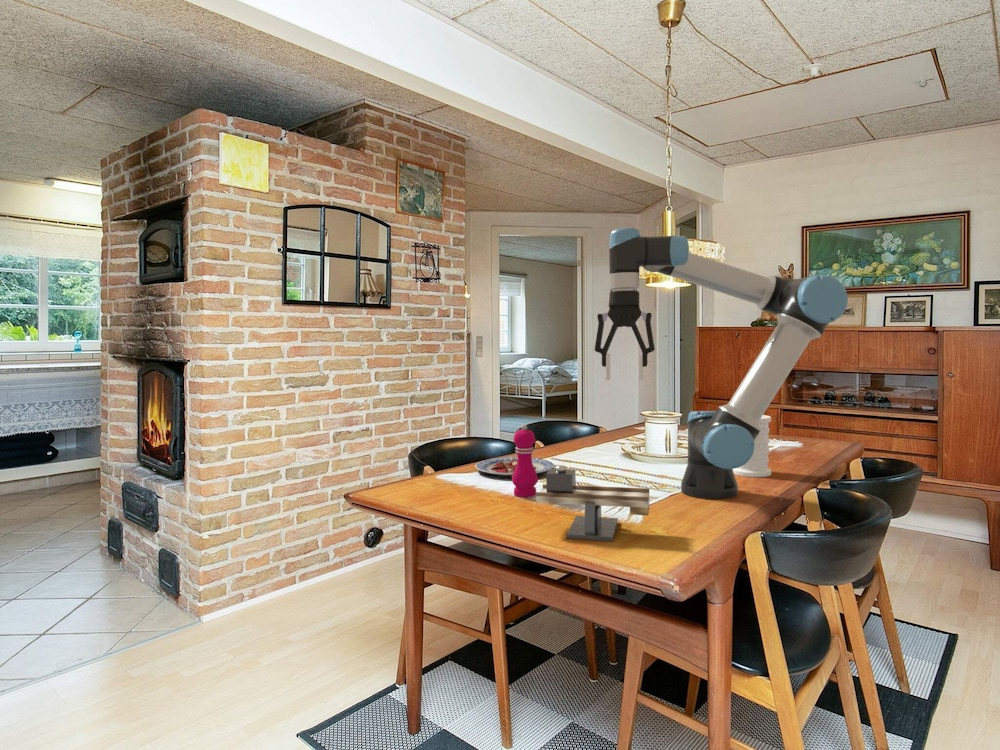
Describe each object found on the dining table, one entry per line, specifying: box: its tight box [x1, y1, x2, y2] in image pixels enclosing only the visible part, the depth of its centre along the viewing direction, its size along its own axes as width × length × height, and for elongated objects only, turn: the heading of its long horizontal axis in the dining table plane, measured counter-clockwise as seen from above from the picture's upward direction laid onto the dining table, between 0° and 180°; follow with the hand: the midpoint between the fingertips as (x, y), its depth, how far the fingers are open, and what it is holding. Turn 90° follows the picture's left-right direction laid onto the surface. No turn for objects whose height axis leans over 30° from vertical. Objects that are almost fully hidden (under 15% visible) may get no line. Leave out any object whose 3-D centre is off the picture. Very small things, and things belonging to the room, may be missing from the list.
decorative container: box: [733, 414, 772, 478], centre depth 199 cm, size 12×12×18 cm
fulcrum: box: [566, 502, 619, 543], centre depth 146 cm, size 10×14×8 cm
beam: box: [535, 483, 650, 516], centre depth 146 cm, size 25×8×4 cm, turn 75°
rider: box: [545, 465, 577, 494], centre depth 148 cm, size 6×5×6 cm
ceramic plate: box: [474, 456, 555, 478], centre depth 208 cm, size 26×26×3 cm
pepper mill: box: [511, 424, 539, 498], centre depth 178 cm, size 7×7×20 cm
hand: (624, 379), depth 164 cm, fingers open, 8 cm apart
